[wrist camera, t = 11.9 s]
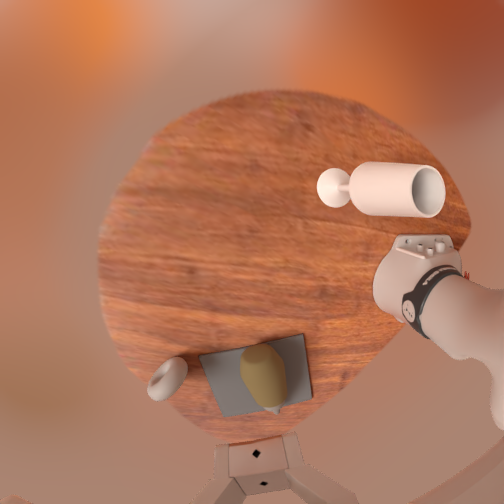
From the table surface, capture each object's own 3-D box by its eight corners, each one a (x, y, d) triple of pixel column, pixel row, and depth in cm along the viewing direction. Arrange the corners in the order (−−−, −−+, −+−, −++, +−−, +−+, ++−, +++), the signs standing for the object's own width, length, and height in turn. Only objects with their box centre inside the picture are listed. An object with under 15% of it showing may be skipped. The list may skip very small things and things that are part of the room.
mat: (302, 333, 49) (303, 334, 48) (311, 397, 53) (311, 399, 53) (198, 355, 48) (198, 356, 48) (223, 415, 53) (223, 417, 52)
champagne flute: (311, 174, 42) (391, 163, 19) (346, 163, 42) (442, 148, 19) (324, 213, 44) (410, 239, 21) (358, 200, 44) (456, 215, 21)
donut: (181, 344, 48) (171, 376, 38) (194, 355, 48) (188, 389, 39) (150, 370, 49) (138, 401, 39) (163, 380, 49) (153, 412, 40)
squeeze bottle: (287, 341, 45) (301, 401, 51) (247, 336, 49) (268, 395, 55) (268, 374, 38) (287, 430, 44) (225, 365, 43) (251, 422, 48)
